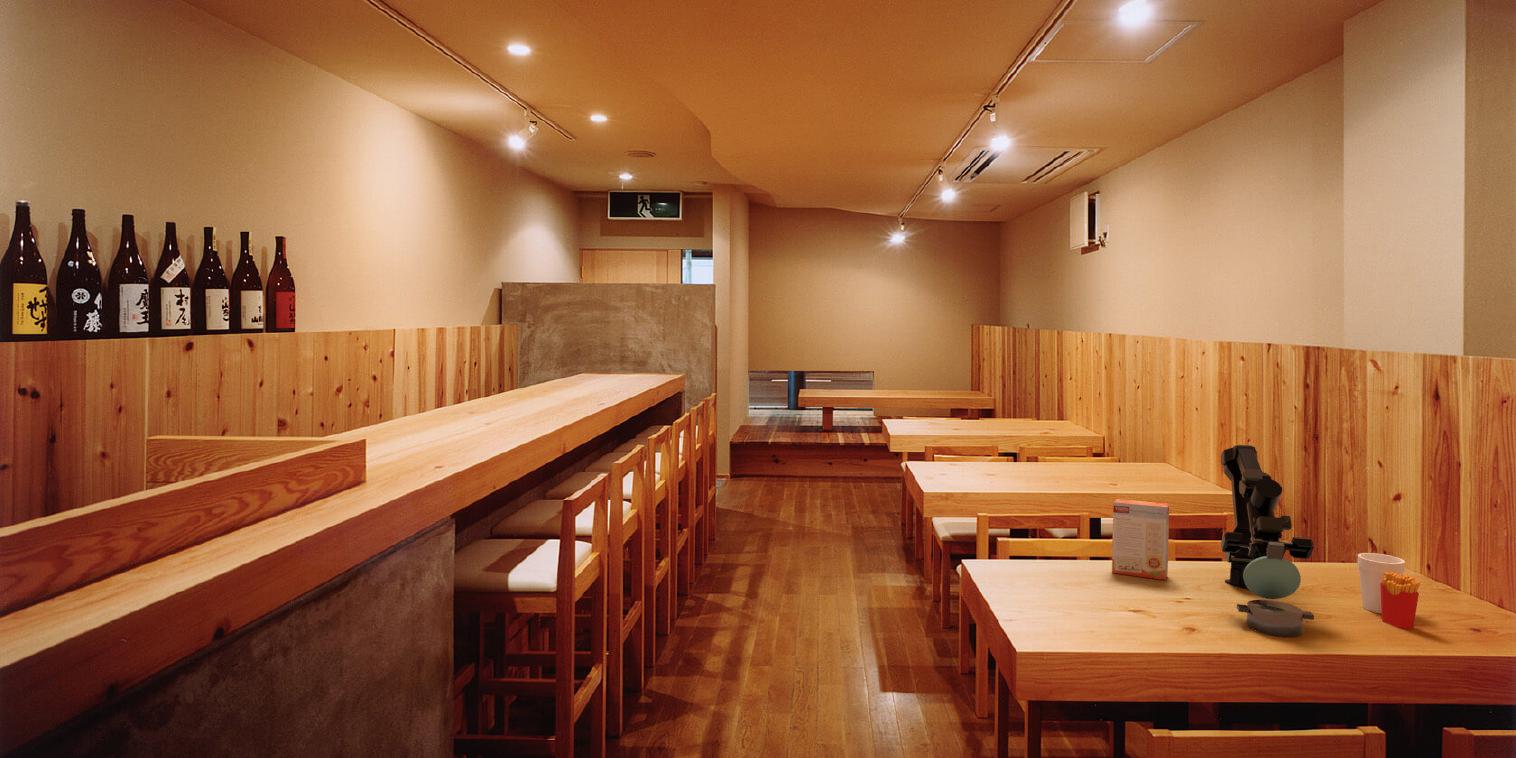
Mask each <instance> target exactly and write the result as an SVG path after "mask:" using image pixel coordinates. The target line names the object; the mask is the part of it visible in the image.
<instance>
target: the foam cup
mask: <svg viewBox="0 0 1516 758" xmlns="http://www.w3.org/2000/svg"><path fill="white" fill-rule="evenodd" d="M1357 566H1358V573H1359V584H1360V592H1361V601H1362V603H1361V604H1362V608H1363V609H1364V610H1367V611H1369V612H1372V613H1377V614H1382V610H1381V587H1380V583H1383V576H1384V572H1389V573H1390V572H1394V573H1398V574H1402V575H1403V576H1404V573H1405V571H1406V570H1405V569H1406V561H1405V559H1402V558H1400V557H1397V556H1394V555H1391V554H1390V555H1388V554H1384V553H1383V554H1382V553H1375V552H1374V553H1373V552H1362V553H1361V552H1360V553H1357Z"/></svg>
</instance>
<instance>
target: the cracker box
mask: <svg viewBox="0 0 1516 758" xmlns="http://www.w3.org/2000/svg"><path fill="white" fill-rule="evenodd" d="M1112 503H1113V507H1112V509H1113V510H1112V511H1113V512H1112V545H1111V546H1112V551H1111V553H1112V554H1111V573H1112V574H1118V575H1125V576H1131V577H1133V576H1134V577H1141V578H1146V579H1153V580H1159V581H1166V580H1167V577H1168V574H1169V572H1168V570H1169V569H1168V568H1169V565H1168V564H1169V534H1170V533H1169V530H1170V528H1169V527H1170V503H1166V502H1165V503H1164V502H1163V503H1162V502H1154V501H1145V500H1134V499H1123V498H1122V499H1121V498H1116V499H1115V500H1114V501H1113V502H1112Z"/></svg>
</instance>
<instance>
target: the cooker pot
mask: <svg viewBox="0 0 1516 758" xmlns="http://www.w3.org/2000/svg"><path fill="white" fill-rule="evenodd" d="M1246 604H1247V605H1246ZM1246 604H1239V603H1236V609H1237V611H1238V612H1239V613H1246V626H1247V628H1249V629H1250V630H1252V629H1253V630H1252V631H1254V630H1256V631H1255V632H1257V631H1258V632H1257V633H1260V634H1263V633H1264V634H1263V635H1266V634H1267V635H1266V636H1272V637H1279V638H1299V637H1301V636H1302V635H1303V624H1304V623H1303V621H1304V620H1312V621H1313V620H1314V619H1315V615H1314V614H1313V613H1312V612H1311V611H1307V610H1302V609H1301V608H1300V607H1298V606H1296V605H1293V604H1290V603H1287V602H1282V601H1279V600H1277V601H1276V600H1273V599H1252V600H1249V601H1248V602H1247V603H1246ZM1300 635H1301V636H1300Z"/></svg>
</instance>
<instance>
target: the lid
mask: <svg viewBox="0 0 1516 758" xmlns="http://www.w3.org/2000/svg"><path fill="white" fill-rule="evenodd" d="M1283 552H1284V544H1283V543H1279V542H1268V548H1267V555H1266V556H1264V557H1260V558H1257V559H1255V560H1253V561H1251V562H1250V563H1249V564H1248V565H1247V566H1246V568H1245V570H1244V573H1243V578H1244V582H1245V585H1246V587H1247V588H1248V590H1249V591H1250V592H1251V593H1252V594H1254V595H1255V596H1257V597H1259V598H1263V599H1266V600H1279V599H1280V600H1281V599H1285V598H1287V597H1289V596H1291V595H1292V594H1294V593H1295V592H1296V591H1297V590H1298V589H1299V588H1300V585H1301V582H1302V581H1301V580H1302V578H1301V577H1302V576H1301V573H1300V571H1299V568H1297V566H1296V565H1295V563H1293V562H1292V561H1291V560H1289V559H1287V558H1285V557H1283Z"/></svg>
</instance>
